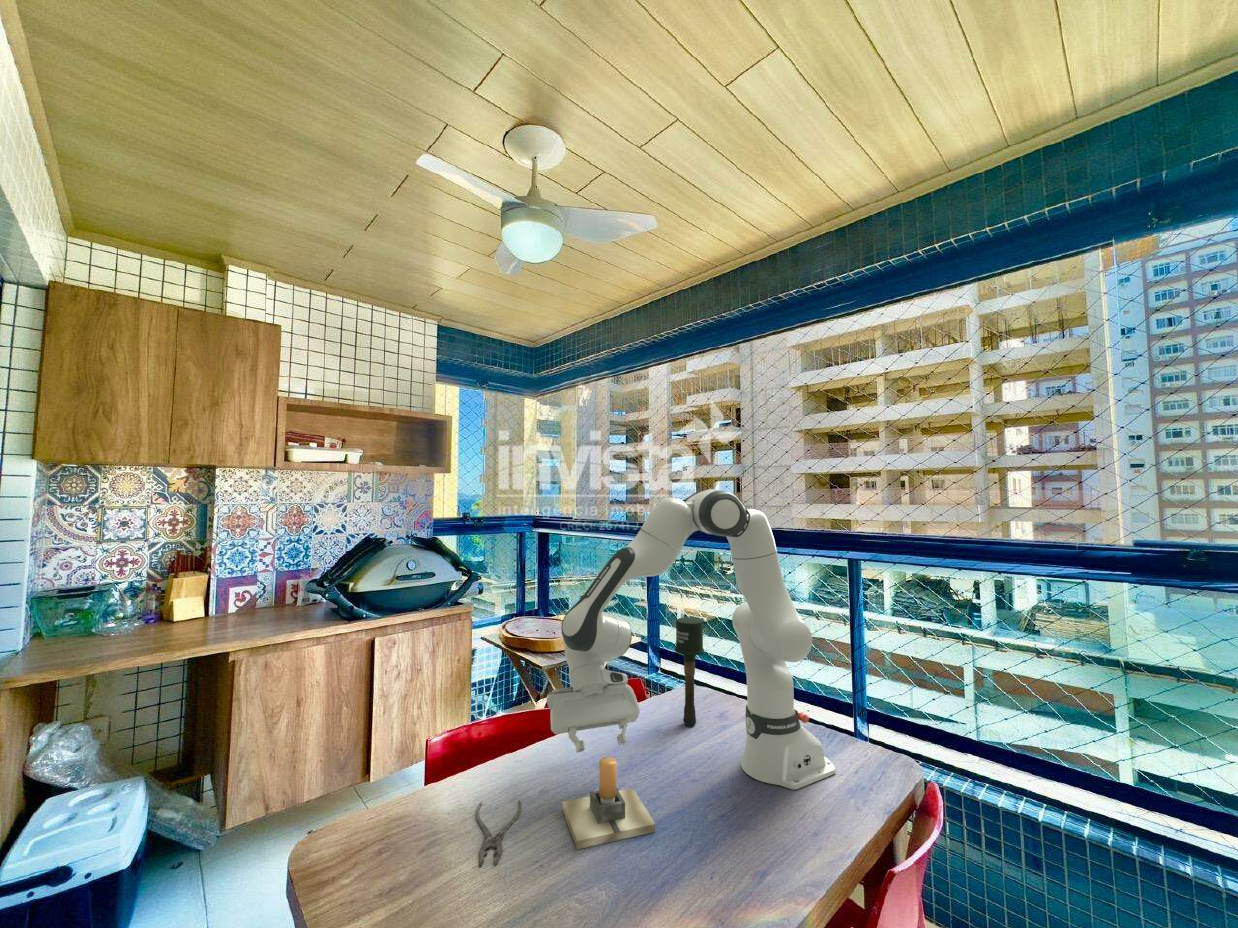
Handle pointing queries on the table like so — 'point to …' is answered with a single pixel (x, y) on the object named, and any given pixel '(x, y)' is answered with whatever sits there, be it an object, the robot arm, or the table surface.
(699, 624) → the stick grenade
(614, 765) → the orange rounded handle
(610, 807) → the cream rectangular base board
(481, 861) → the pliers
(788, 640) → the robot arm
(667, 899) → the table surface
